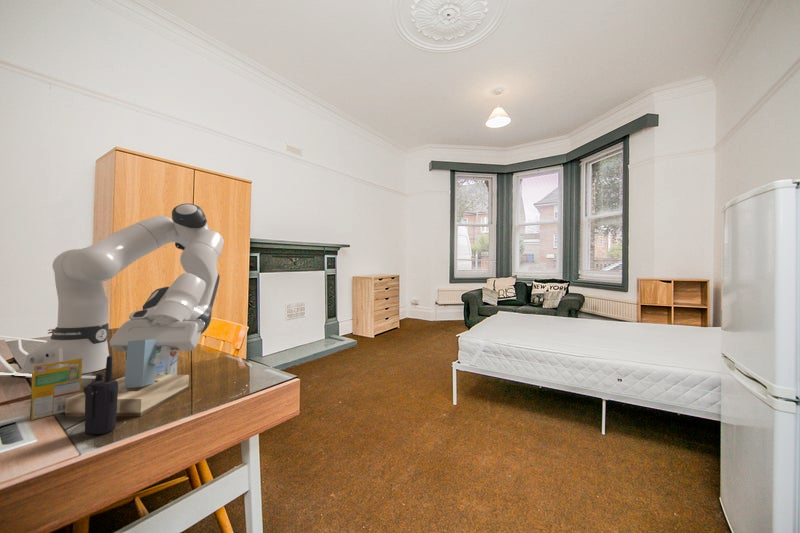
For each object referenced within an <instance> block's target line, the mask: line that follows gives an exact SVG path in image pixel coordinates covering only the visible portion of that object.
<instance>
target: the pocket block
mask: <svg viewBox="0 0 800 533" xmlns="http://www.w3.org/2000/svg"><path fill="white" fill-rule="evenodd" d="M115 380H116V381H117V382H118V397H117V413H116V417H142V416H144V415H146V414H147V413H149V412H151V411H153V410H154V409H156V408H158V407H160V406H161V405H163V404H165V403H167V402H169V401H170V400H172V399H173V398H175V397H178V396H179V395H181V394H182V393H184V392H186V391H188V390H189V388H190V385H189V384H190V374H177V375H155V383H153V384H150V385H146V386H143V387H133V388H124V387H125V375H124V376H122V377H119V378H117V379H115ZM64 417H70V418H71V417H72V418H73V417H78V418H79V417H85V393H84V392H81V393H80V394H77V395H75V396H72V397H70V398H67V399H66V407H65V412H64Z"/></svg>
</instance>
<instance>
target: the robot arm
mask: <svg viewBox="0 0 800 533" xmlns="http://www.w3.org/2000/svg"><path fill="white" fill-rule="evenodd" d="M170 243H174V246H175V248H176V249H178V250H182V252H181V254H180V259H179V261H180V265H181V267H182V269H183V271H185V272H183V273H181V274H180V275H179V276H178V277H177V278H176V279H175V280H174V281H173V282H172V284H170V286H164V287H161V288H157V289H155V290H154V291H153V292H152V293H151V294H150V296H149V297H148V298H147V300H146V301H145V303H143V305H142V309H141V310H137V311H134V312H133V311H132V312H131V313H130V314H129V316H128V319H129V320H127V321H125V322H123V323H122V324H121V326H119V328H117V330H116V332H115V333H114V334H113V335H112V337H111V338H110V340H109V345H108V335H109V331H110V330H109V329H110V325H109V323H108V312H109V311H108V310H109V309H108V308H109V300H108V299H109V298H107V297H108V296H107V295H106V293H105V288H104V283H103V282H107V281H108V280H110V279H113V278H115V277H116V276H117V275H118V274H120V272H122V271H123V270H125V269H127V267H129V266H130V265H131V264H133V263H135V262H136V261H138V260H139V259H141V258H143V257H145V256H147V255H149V254H150V253H152V252H154V251H156V250H157V249H160V248H161V247H163V246H165V245H167V244H170ZM224 243H225V240H224V237H223V236H222V235H221V234H220V233H219V232H217V231H215V230H213V229H212V230H211V229H210V227H209V225H208V220H207V216H206V214H205V212H204V210H203V209H202V208H201V207H200V206H199V205H196V204H193V203H181V204H178V205H176V206H174V207H173V209H172V210H171V218H170V217H168V216H166V215H158V216H153V217H149V218H147V219H143V220H141V221H138V222H136V223H133V224H131V225H129V226H127V227H125V228H122V229H120V230H118V231H115V232H113V233H111V234H110V235H108V236H107V237H105V238H102V239H101V240H100V241H98V242H96V243H94V244H92V245H89V246H86V247H84V248H77V249H76V248H73V249H68V250H66V251H63V252H62V253H60V254H59V255H57V256H56V258H54V260H53V262H52V270H53V274H54V280H55V281H54V282H55V287H56V288H55V289H56V293H57V294H56V296H57V305H58V306H57V307H58V308H57V325H56V327H55V328H52V329H48V330H47V331H48V332H47V334H51V335H50V338H49V340H47V341H46V342H44V343H42V344H41V345H40V346H38V347H37V348H35V349H32V350H31V351H30V352H28V353H27V355H26V356H25V359H24V365H23V367H21V368H18V369H16V370H15V371H16V372H20V373H29V374H32V372H34V366H35V365H41V364H48V363H55V362H61V361H68V360H74V359H81V358H82V375H83V374H88V373H93V372H97V371H98V372H99V371H101V370H104V369H105V370H106V361H107V357H108V356H110V353H109V346H110V347H111V348H112V349H113V350H114V351H115V352H118V353H119V352H123V353H124V352H126V351H127V347H128V341H136V340H148V339H157V341H156V343H155V345H156V346H157V349H156V351H161V352H160V353H159V354H157V355H156V356H155V357H151V359H150V361H149V362H148V363H149V364H150V365H151V366H158V365H159V363H160V361H161V360H162V359H164V358H165V357H166V356H168V355H169V354H170V352H171V351H178V352H190V351H191V352H192V351H193V350H194V349H195V348H196V347H197V345H198V343H199V341H200V337H201V335H202V334H204V333H205V332H206V330H207V329H208V327H209V326H210V323H211V321H212V311H213V306H214V303H215V299H216V295H217V292H218V288H219V283H220V274H219V271H218V267H217V265H218V264H217V263H218V261H219V259H220V256H221V254H222V253H223V248H224ZM126 361H127V359H126V358H125V361H124V365H125V366H126ZM66 366H69V364H68V363H67V364H57V365H54V366H49V367H48V368H49V369H52V368H61V367H66ZM26 378H30V379H32V377H26Z"/></svg>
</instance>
